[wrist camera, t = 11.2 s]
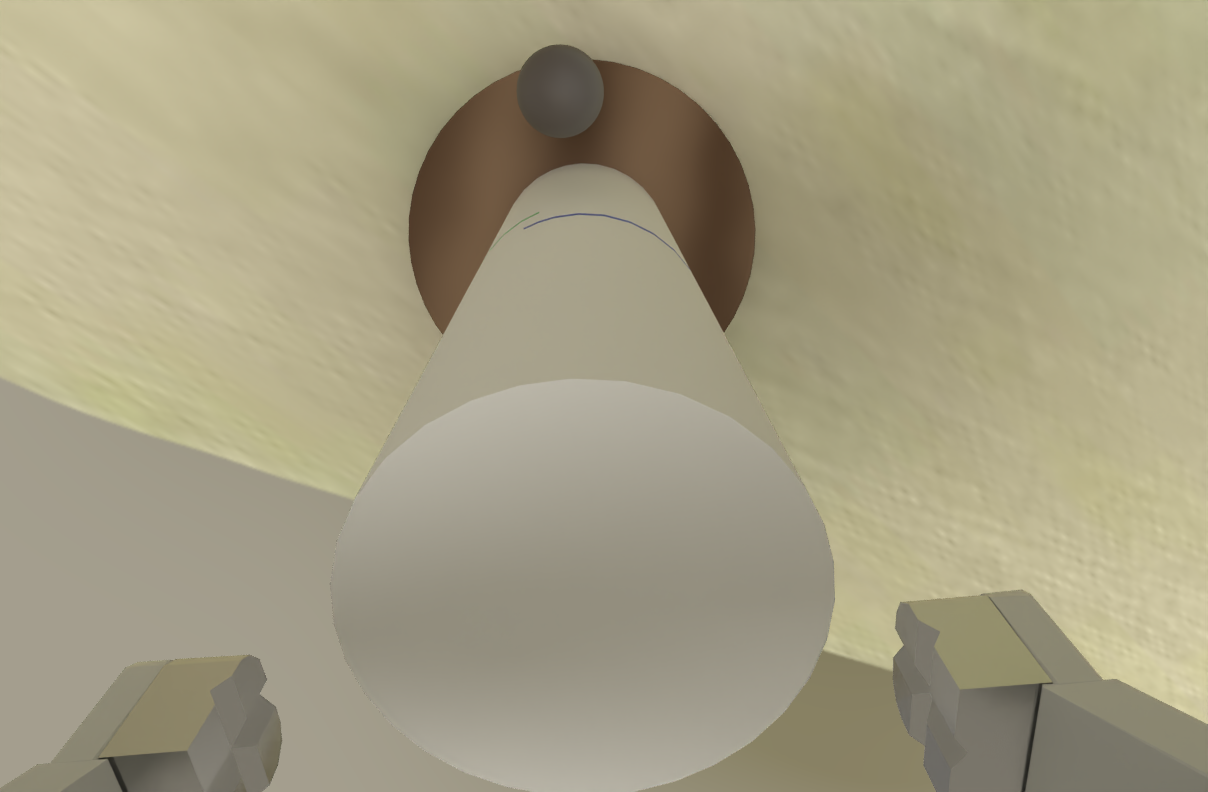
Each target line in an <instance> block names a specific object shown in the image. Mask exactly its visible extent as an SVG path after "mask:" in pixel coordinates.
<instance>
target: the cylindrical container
mask: <svg viewBox="0 0 1208 792" xmlns="http://www.w3.org/2000/svg"><path fill="white" fill-rule="evenodd" d="M330 585H331V598H332V609H333V620H334V626H335V629H336V632H337V636H338V638H339V642H340V645H341V648H342V651H343V654H344V657H345V660H346V662H347V664H348V666H349V667H350V669H351V671H352V673H353V674H354V676H355V678H356V680H357V681H358V683H359V685H360V687H361V688H362V690H363V692H364V694H365V695H366V696H367V697H368V698H369V699H370V701H371V702H372V703H373V704H374V705H375V706H376V708H377V709H378V710H379V711H380V712H381V713H382V714H383V716H384V717H385V718H386V719H387V720H388V721H389V723H390V724H391V725H392V726H394V727H395V728H396V729H398V730H399V731H400V732H401V733H403V734H404V735H405V736H406V737H408V738H409V739H410V740H411V741H413V742H414V743H415V744H416V745H418V746H419V747H420V748H421V749H423V750H424V751H425V752H427V753H429V754H431V755H433V756H435V757H436V758H438V759H440V760H442V761H444V762H446V763H448V764H450V765H451V766H453V767H455V768H457V769H459V770H461V771H463V772H465V773H467V774H470V775H473V776H476V777H479V778H482V779H485V780H488V781H491V782H494V783H497V784H500V785H503V786H506V787H509V788H515V789H521V790H527V791H533V792H633V791H639V790H643V789H647V788H651V787H655V786H658V785H663V784H666V783H670V782H674V781H677V780H680V779H682V778H684V777H687V776H689V775H691V774H694V773H696V772H699V771H701V770H703V769H706V768H708V767H710V766H713V765H715V764H717V763H718V762H720V761H721V760H723V759H725V758H726V757H728V756H730V755H731V754H732V753H734V752H736V751H738V750H739V749H741V748H742V747H744V746H746V745H747V744H749V743H750V742H752V741H753V740H754V739H755V738H756V737H758V736H759V735H760V734H761V733H762V732H763V731H764V730H765V729H766V728H767V727H769V726H770V725H771V724H772V723H773V722H774V721H775V720H776V719H777V718H778V717H779V716H781V715H782V714H783V713H784V712H785V711H786V709H787V708H788V706H789V705H790V704H791V702H792V701H793V700H794V698H795V697H796V696H797V694H798V693H799V692H800V690H801V689H802V687H803V686H804V685H805V684H806V682H807V681H808V680H809V678H810V676H811V674H812V672H813V670H814V667H815V665H816V663H817V661H818V658H819V656H820V654H821V652H822V650H823V647H824V645H825V643H826V641H827V637H828V632H829V627H830V622H831V617H832V612H833V607H834V602H835V589H834V561H833V557H832V553H831V549H830V545H829V542H828V538H827V534H826V530H825V526H824V523H823V521H822V519H821V517H820V515H819V513H818V511H817V509H816V507H815V506H814V504H813V502H812V500H811V498H810V496H809V494H808V492H807V490H806V488H805V486H804V484H803V482H802V480H801V479H800V477H799V475H798V473H797V471H796V469H795V467H794V465H793V463H792V461H791V460H790V458H789V456H788V454H787V452H786V450H785V448H784V446H783V444H782V442H781V441H780V439H779V437H778V435H777V433H776V431H775V429H774V427H773V425H772V423H771V422H770V420H769V418H768V416H767V414H766V412H765V410H764V408H763V406H762V404H761V403H760V401H759V399H758V397H757V395H756V393H755V391H754V389H753V387H752V385H751V384H750V382H749V380H748V378H747V376H746V374H745V372H744V370H743V368H742V366H741V365H740V363H739V361H738V359H737V357H736V355H735V353H734V351H733V349H732V348H731V346H730V344H729V342H728V340H727V338H726V336H725V334H724V332H723V331H722V329H721V327H720V325H719V323H718V321H717V319H716V317H715V316H714V314H713V312H712V310H711V308H710V306H709V304H708V302H707V300H706V299H705V297H704V295H703V293H702V291H701V289H700V287H699V285H698V283H697V282H696V280H695V278H694V276H693V274H692V272H691V270H690V268H689V266H688V264H687V263H686V261H685V259H684V257H683V255H682V253H681V251H680V249H679V247H678V245H677V243H676V242H675V240H674V238H673V236H672V234H671V232H670V230H669V228H668V227H667V225H666V223H665V221H664V219H663V217H662V215H661V213H660V211H659V210H658V208H657V206H656V204H655V202H654V200H653V199H652V198H651V197H650V195H649V194H648V193H647V192H646V190H645V189H644V188H643V187H642V186H641V185H639V184H638V183H637V182H636V181H634V180H633V179H632V178H631V177H629V176H627V175H625V174H623V173H621V172H620V171H618V170H616V169H613V168H609V167H606V166H602V165H598V164H583V163H580V164H573V165H566V166H563V167H560V168H557V169H554V170H551V171H549V172H547V173H546V174H544V175H542V176H540V177H539V178H537V179H536V180H535V181H533V182H532V183H531V184H530V185H529V186H528V187H527V188H526V189H524V190H523V192H522V193H521V195H520V196H519V197H518V199H517V200H516V201H515V203H514V204H513V206H512V208H511V210H510V212H509V214H508V215H507V217H506V219H505V221H504V223H503V225H502V227H501V228H500V230H499V232H498V234H497V236H496V238H495V240H494V241H493V243H492V245H491V247H490V249H489V251H488V253H487V254H486V256H485V258H484V260H483V262H482V264H481V266H480V267H479V269H478V271H477V273H476V275H475V277H474V278H473V280H472V282H471V284H470V286H469V288H468V290H467V291H466V293H465V295H464V297H463V299H462V301H461V303H460V304H459V306H458V308H457V310H456V312H455V314H454V316H453V317H452V319H451V321H450V323H449V325H448V327H447V329H446V330H445V332H444V334H443V336H442V338H441V340H440V342H439V343H438V345H437V347H436V349H435V351H434V353H433V355H432V356H431V358H430V360H429V362H428V364H427V366H426V367H425V369H424V371H423V373H422V375H421V377H420V379H419V380H418V382H417V384H416V386H415V388H414V390H413V392H412V393H411V395H410V397H409V399H408V401H407V403H406V405H405V406H404V408H403V410H402V412H401V414H400V416H399V418H398V419H397V421H396V423H395V425H394V427H393V429H392V431H391V432H390V434H389V436H388V438H387V440H386V442H385V444H384V445H383V447H382V449H381V451H380V453H379V455H378V457H377V458H376V460H375V462H374V464H373V466H372V468H371V470H370V471H369V473H368V475H367V477H366V479H365V481H364V482H363V484H362V486H361V488H360V490H359V492H358V494H357V495H356V497H355V500H354V502H353V504H352V507H351V509H350V512H349V514H348V516H347V518H346V521H345V523H344V525H343V528H342V530H341V532H340V535H339V537H338V539H337V543H336V550H335V557H334V563H333V569H332V576H331V582H330Z"/></svg>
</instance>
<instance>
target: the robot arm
mask: <svg viewBox="0 0 1208 792" xmlns="http://www.w3.org/2000/svg"><path fill="white" fill-rule="evenodd" d="M895 629H896V631H897V633H898V635H899V637H900V639H901V640H902V642H903V644H904V646H903V647H902V648H901V649H900V650H899V651H898V653H897V654H896V655H895V656H894V657H893V683H894V690H895V697H896V702H897V705H898V709H899V712H900V715H901V718H902V720H903V723H904V725H905V727H906V729H907V731H908V734H909V735H910V736H911V737H913V738H914V739H916V740H917V741H918V742H920V743H922V744H923V745H924V746H925V752H924V767H925V769H926V771H927V773H928V775H929V778H930V780H931V782H932V784H933V786H934V788H935V790H936V792H1208V724H1206V723H1204V722H1202V721H1200V720H1198V719H1196V718H1194V717H1192V716H1190V715H1188V714H1186V713H1184V712H1182V711H1180V710H1178V709H1176V708H1174V707H1172V706H1170V705H1168V704H1166V703H1164V702H1162V701H1159V700H1157V699H1155V698H1153V697H1151V696H1149V695H1147V694H1145V693H1143V692H1141V691H1139V690H1137V689H1135V688H1133V687H1131V686H1129V685H1127V684H1125V683H1123V682H1121V681H1119V680H1117V679H1111V680H1103V679H1102V678H1101V677H1100V675H1099V674H1098V673H1097V672H1096V671H1095V669H1094V668H1093V667H1092V666H1091V665H1090V664H1089V662H1088V661H1087V660H1086V659H1085V658H1084V656H1083V655H1082V654H1081V653H1080V652H1079V651H1078V649H1077V648H1076V647H1075V646H1074V645H1073V644H1072V642H1071V641H1070V640H1069V639H1068V638H1067V636H1066V635H1065V634H1064V633H1063V632H1062V631H1061V629H1060V628H1059V627H1058V626H1057V625H1056V623H1055V622H1054V621H1053V620H1052V619H1051V618H1050V616H1049V615H1048V614H1047V613H1046V612H1045V610H1044V609H1043V608H1042V607H1041V606H1040V605H1039V603H1038V602H1037V601H1036V600H1035V599H1034V598H1033V596H1032V595H1031V594H1029V593H1027V592H1025V591H1023V590H1014V591H1004V592H995V593H985V594H981V595H980V596H966V597H954V598H943V599H931V600H920V601H908V602H900V604H899V607H898V610H897V614H896V626H895ZM266 681H267V678H266V675H265V673H264V670H263V668H262V665H261V662H260V659H258V658H256V657H254V656H252V655H238V656H221V657H204V658H188V659H175V660H162V661H147V662H137V663H135V664H132V665H130V666H128V667H126V668H125V669H124V670H123V671H122V673H121V674H120V675H119V676H118V678H117V679H116V680H115V682H114V683H113V684H112V685H111V687H110V688H109V689H108V690H107V692H106V693H105V694H104V696H103V697H102V698H101V699H100V701H99V702H98V703H97V704H96V706H95V707H94V708H93V710H92V711H91V712H90V714H89V715H88V716H87V717H86V719H85V720H84V721H83V722H82V724H81V725H80V726H79V727H78V729H77V730H76V731H75V733H74V734H73V735H72V736H71V738H70V739H69V740H68V741H67V743H66V744H65V745H64V746H63V748H62V749H61V750H60V752H59V753H58V754H57V755H56V757H55V758H54V759H53V760H52V762H51V763H48V764H37V765H36V766H34V767H33V768H31V769H29V770H28V771H26V772H25V773H23V774H21V775H20V776H19V777H17V778H15V779H14V780H12V781H11V782H9V783H7V784H6V785H4V786H3V787H1V788H0V792H262V791H263V790H264V789H265V788H266V787H268V786H269V785H270V783H271V781H272V778H273V776H274V773H275V771H276V769H277V766H278V762H279V756H280V750H281V744H282V736H281V735H282V734H281V722H280V719H279V716H278V712H277V709H276V707H275V706H274V705H273V704H271V703H270V702H269V701H268V700H266V699H265V698H264V697H262V696H261V695H260V692H261V690H262V688H263V686H264V684H265V682H266Z"/></svg>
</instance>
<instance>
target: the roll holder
mask: <svg viewBox="0 0 1208 792" xmlns="http://www.w3.org/2000/svg"><path fill="white" fill-rule="evenodd" d="M580 163H583V164H598V165H602V166H606V167H609V168H613V169H616V170H618V171H620V172H621V173H623V174H625V175H627V176H629V177H631V178H632V179H633V180H634V181H636V182H637V183H638V184H639V185H641V186H642V187H643V188H644V189H645V190H646V192H647V193H648V194H649V195H650V197H651V198H652V199H653V200H654V202H655V204H656V206H657V208H658V210H659V211H660V213H661V215H662V217H663V219H664V221H665V223H666V225H667V227H668V228H669V230H670V232H671V234H672V236H673V238H674V240H675V242H676V243H677V245H678V247H679V249H680V251H681V253H682V255H683V257H684V259H685V261H686V263H687V264H688V266H689V268H690V270H691V272H692V274H693V276H694V278H695V280H696V282H697V283H698V285H699V287H700V289H701V291H702V293H703V295H704V297H705V299H706V300H707V302H708V304H709V306H710V308H711V310H712V312H713V314H714V316H715V317H716V319H717V321H718V323H719V325H720V327H721V329H722V331H723V332H725V330H726V329H727V327H728V325H729V324H730V322H731V321H732V319H733V317H734V316H735V314H736V311H737V309H738V307H739V305H740V303H741V301H742V299H743V296H744V293H745V290H746V287H747V284H748V281H749V278H750V274H751V268H752V263H753V257H754V248H755V221H754V208H753V203H752V199H751V194H750V190H749V185H748V182H747V180H746V177H745V174H744V171H743V169H742V166H741V163H740V161H739V159H738V157H737V156H736V154H735V152H734V150H733V148H732V146H731V144H730V142H729V141H728V139H727V138H726V137H725V135H724V134H723V132H722V131H721V130H720V128H719V127H718V125H717V124H716V123H715V122H714V121H713V120H712V118H711V117H710V116H709V115H708V114H707V113H706V112H705V111H704V110H703V109H702V108H701V107H700V106H699V105H698V104H697V103H696V102H694V101H693V100H692V99H691V98H689V97H688V96H687V95H686V94H684V93H683V92H682V91H681V90H679V89H677V88H676V87H674V86H672V85H671V84H669V83H667V82H666V81H664V80H662V79H661V78H659V77H656V76H654V75H652V74H649V73H647V72H644V71H642V70H640V69H637V68H634V67H630V66H626V65H622V64H619V63H615V62H608V61H600V60H592V59H591V58H590V57H589V56H588V55H586V54H585V53H584V52H582V51H581V50H579V49H577V48H574V47H572V46H568V45H551V46H547V47H544V48H542V49H540V50H538V51H537V52H535V53H534V54H533V55H532V56H531V57H529V59H528V60H527V61H526V62H525V64H524V65H523V67H522V69H521V70H520V71H516V72H514V73H512V74H510V75H508V76H506V77H504V78H502V79H500V80H498V81H496V82H494V83H493V84H491V85H490V86H488V87H487V88H485V89H484V90H482V91H481V92H479V93H478V94H476V95H475V96H474V97H473V98H471V99H470V100H469V101H468V102H467V103H466V104H465V105H464V106H463V107H461V108H460V109H459V110H458V111H457V112H456V113H455V114H454V116H453V117H452V118H451V119H450V120H449V122H448V123H447V124H446V125H445V126H444V128H443V129H442V130H441V131H440V133H439V135H438V136H437V138H436V139H435V141H434V143H433V144H432V146H431V148H430V149H429V151H428V153H427V155H426V158H425V160H424V162H423V164H422V167H421V169H420V171H419V174H418V177H417V181H416V184H415V188H414V191H413V195H412V201H411V208H410V215H409V247H410V255H411V263H412V267H413V271H414V275H415V279H416V283H417V286H418V289H419V291H420V294H421V296H422V299H423V301H424V304H425V306H426V308H427V310H428V312H429V313H430V315H431V317H432V319H433V321H434V323H435V324H436V326H437V327H438V329H439V330H440V331H441V333H442V334H444V332H445V330H446V329H447V327H448V325H449V323H450V321H451V319H452V317H453V316H454V314H455V312H456V310H457V308H458V306H459V304H460V303H461V301H462V299H463V297H464V295H465V293H466V291H467V290H468V288H469V286H470V284H471V282H472V280H473V278H474V277H475V275H476V273H477V271H478V269H479V267H480V266H481V264H482V262H483V260H484V258H485V256H486V254H487V253H488V251H489V249H490V247H491V245H492V243H493V241H494V240H495V238H496V236H497V234H498V232H499V230H500V228H501V227H502V225H503V223H504V221H505V219H506V217H507V215H508V214H509V212H510V210H511V208H512V206H513V204H514V203H515V201H516V200H517V199H518V197H519V196H520V195H521V193H522V192H523V190H524V189H526V188H527V187H528V186H529V185H530V184H531V183H532V182H533V181H535V180H536V179H537V178H539V177H540V176H542V175H544V174H546V173H547V172H549V171H551V170H554V169H557V168H560V167H563V166H566V165H573V164H580Z"/></svg>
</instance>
